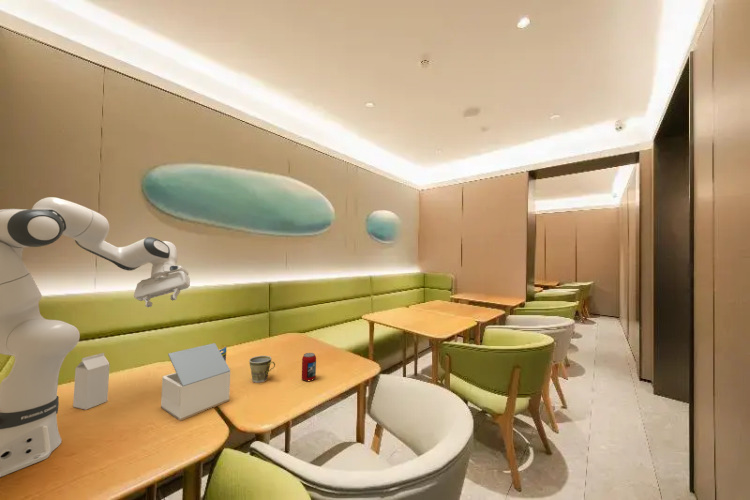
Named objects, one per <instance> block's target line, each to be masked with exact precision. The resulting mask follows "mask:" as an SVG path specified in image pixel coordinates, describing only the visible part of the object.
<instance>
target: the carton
mask: <svg viewBox="0 0 750 500" xmlns="http://www.w3.org/2000/svg"><path fill="white" fill-rule="evenodd" d="M161 379H162V381H161V400H160V408H161V410H164V411H165V412H166V413H167V414H169V415H171V416H172V417H174V419H177V420H178V421H180V422H182V421H184V420H186V419H189V418H190V417H191V418H192V417H193V416H196V415H198V413H199V414H201V413H203V412H206V411H208V410H210V409H209V408H211V409H213V408H215V407H218V406H220V405H223V404H225V403H227V402H230V389H231V388H230V385H231V371H230V372H227V373H223V374H220V375H217V376H214V377H211V378H208V379H205V380H202V381H199V382H196V383H192V384H189V385H186V386H183V387H182V384H181V382H180V380H179V378H178V376H177V373H176V372H173V373H169V374H167V375H166V374H165V375H162V378H161ZM212 407H213V408H212ZM207 409H208V410H207ZM205 410H206V411H205ZM202 411H203V412H202ZM200 412H201V413H200Z"/></svg>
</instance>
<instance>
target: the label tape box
mask: <svg viewBox="0 0 750 500" xmlns="http://www.w3.org/2000/svg"><path fill="white" fill-rule="evenodd" d="M218 350H219V351H220V353H221V355H222V357H223V358H224V360H225V362H226V360H227V346H225V347H223V348H221V349H218ZM226 363H227V362H226Z"/></svg>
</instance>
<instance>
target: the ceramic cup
mask: <svg viewBox="0 0 750 500" xmlns="http://www.w3.org/2000/svg"><path fill="white" fill-rule="evenodd" d="M248 362H249V367H250V372H251V374H250V375H251V380H252V382H253V383H256V384H257V383H264V382H265V381H267V380H268V377H269V373H270V372H271V371H272V370H273V369H274V368H275V367H276V363H275V361H272V357H271V356H269V355H258V356H254V357H253V356H252V357H251V358H250V359H249V361H248ZM271 364H273V367H271V368H270V366H271Z"/></svg>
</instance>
